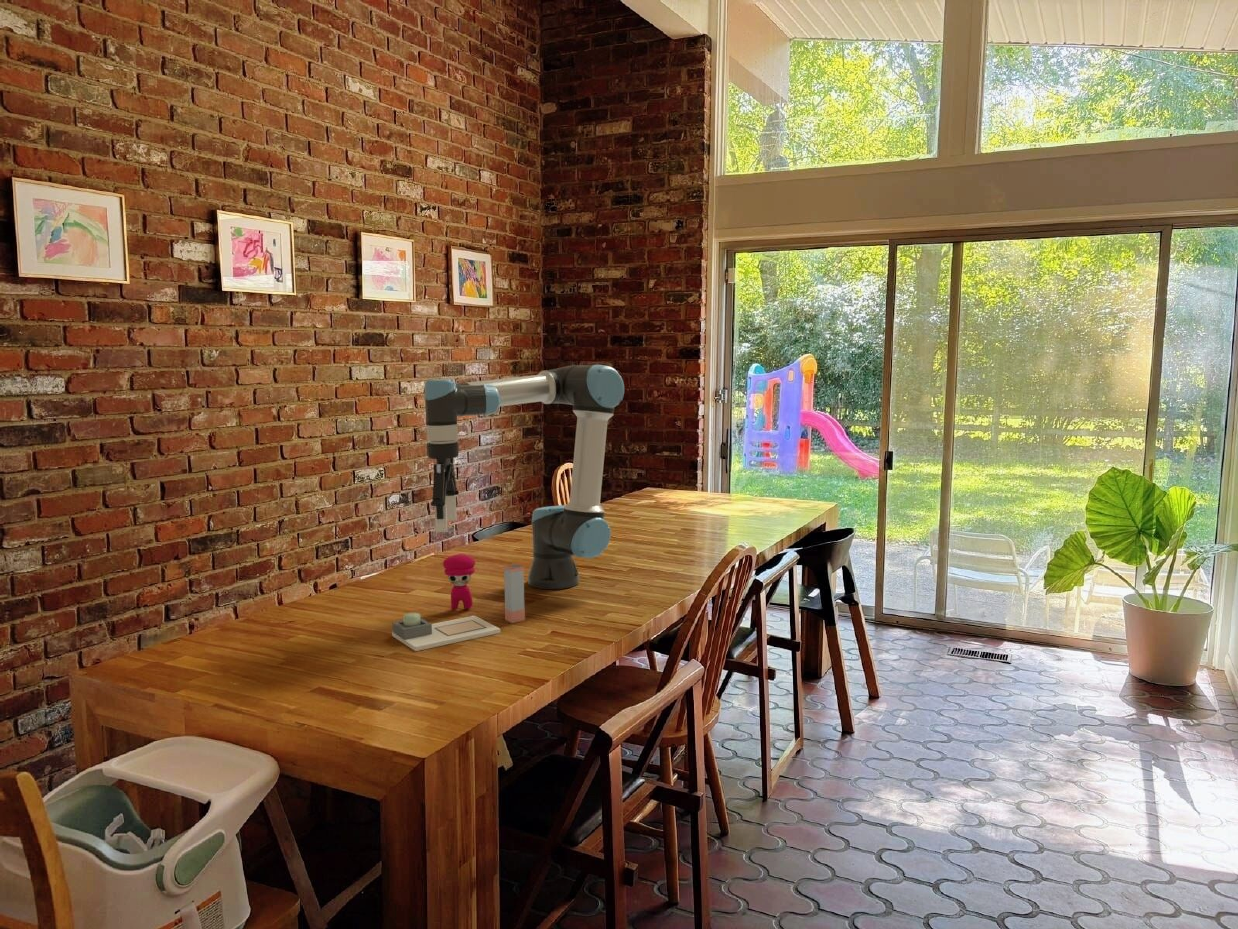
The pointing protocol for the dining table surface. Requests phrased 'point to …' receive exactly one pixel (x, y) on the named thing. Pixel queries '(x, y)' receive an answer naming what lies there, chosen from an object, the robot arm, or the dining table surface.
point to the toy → (460, 578)
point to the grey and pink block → (514, 593)
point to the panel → (442, 632)
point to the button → (411, 620)
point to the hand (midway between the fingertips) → (446, 526)
